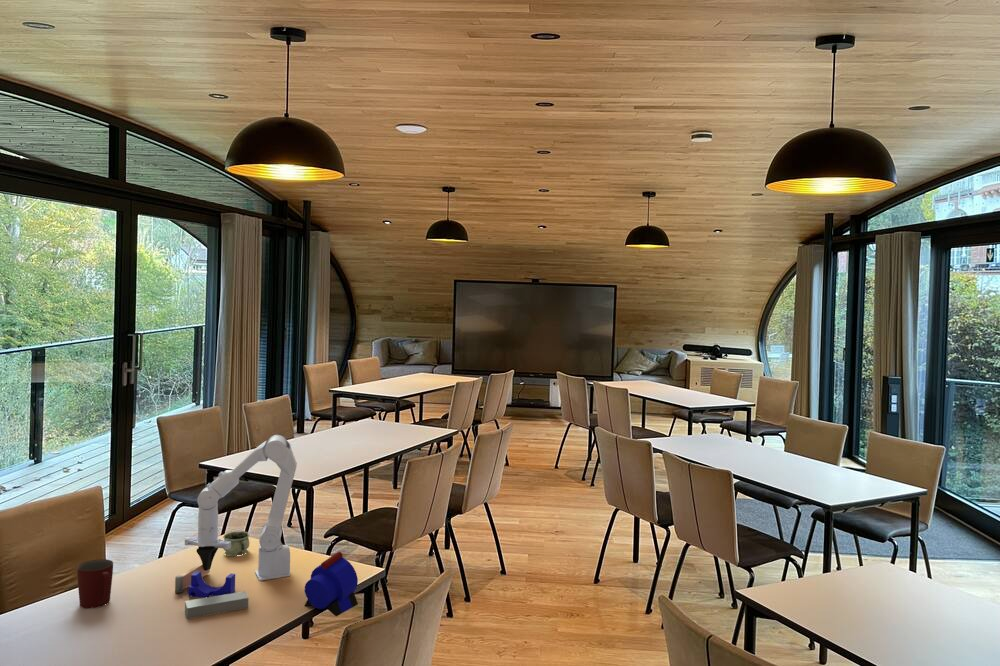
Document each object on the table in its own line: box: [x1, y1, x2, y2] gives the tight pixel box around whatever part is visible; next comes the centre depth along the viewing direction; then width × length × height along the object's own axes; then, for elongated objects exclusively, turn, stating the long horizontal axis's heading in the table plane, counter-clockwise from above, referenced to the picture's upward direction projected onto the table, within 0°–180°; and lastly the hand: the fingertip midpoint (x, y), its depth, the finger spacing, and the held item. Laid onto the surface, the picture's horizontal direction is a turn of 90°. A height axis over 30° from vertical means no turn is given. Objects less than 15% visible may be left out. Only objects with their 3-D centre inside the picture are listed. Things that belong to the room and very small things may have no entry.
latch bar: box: [174, 562, 211, 594], centre depth 220 cm, size 16×2×4 cm, turn 170°
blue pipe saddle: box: [187, 571, 236, 598], centre depth 213 cm, size 12×4×6 cm, turn 87°
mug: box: [76, 558, 114, 609], centre depth 203 cm, size 12×9×11 cm
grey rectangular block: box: [184, 590, 249, 620], centre depth 203 cm, size 16×5×3 cm, turn 120°
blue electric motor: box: [304, 551, 359, 617], centre depth 208 cm, size 12×12×15 cm
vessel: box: [222, 530, 251, 557], centre depth 247 cm, size 12×9×6 cm
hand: (207, 569), depth 225 cm, fingers closed
